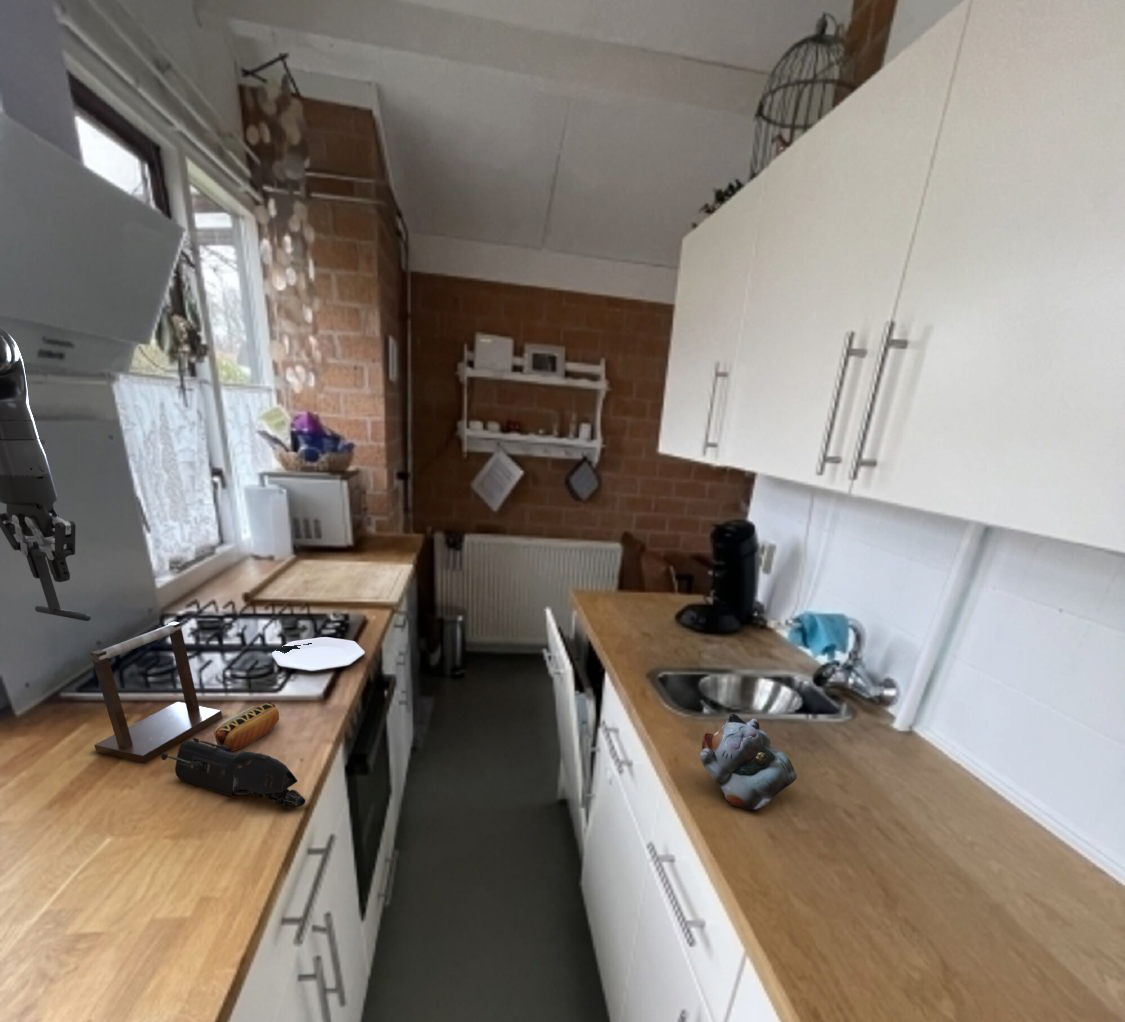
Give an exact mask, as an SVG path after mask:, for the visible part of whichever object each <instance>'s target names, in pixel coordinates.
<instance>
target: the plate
mask: <svg viewBox="0 0 1125 1022" xmlns="http://www.w3.org/2000/svg"><path fill="white" fill-rule="evenodd" d="M308 643H312V644H309V645H303V644H308ZM294 645H301V646H297V647H298V648H300V649H292V650H290V651H289V652H287V653H285V654H284V653H282V652H280V651H276V650H274V651H272V653H271V656H272V658H273V660H274V662H275V663H276V665H277V666H278V667H280V668H281V669H283V668H284V669H288V670H289V669H290V670H296V671H303V672H310V673H316V672H322V670H323V671H328V670H327V669H329V670H333V669H332V668H335V669H340V668H347V667H350V666H352V664H354V663H355V662H356V661H358V660H359V659H360V658H362V657H363V656H364V655H366V652H365V650H364V649H363V648H362V647H361V646H360V645H359V644H358V643H357V642H356V641H354V640H350V639H342V638H335V637H328V636H323V637H322V636H320V637H314V638H307V639H299V640H293V641H290V642H288V643H286V644H284V645H283V646H294Z"/></svg>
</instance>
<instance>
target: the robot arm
mask: <svg viewBox="0 0 1125 1022" xmlns="http://www.w3.org/2000/svg"><path fill="white" fill-rule="evenodd" d="M28 394H29V393H28V386H27V377H26V372H25V366H24V360H23V358H22V355H21V352H20V349H19V346H18V345H17V343H16V341H15V339H14V338H13V337H12V335H10V334H9V332H8V331H6V330H5V329H4V328H2V327H1V326H0V503H1V504H5V505H6V507H5V508H6V509H5V511H4V512H0V529H1V532H2V533H3V535H4V537H5V538H6V539H7V541H8V543H9V545H10V547H11V548H12V550H14V551H19V552H21V554H22V555H23V556H24V557H25V558H26V560H27V563H28V566H29V570H30V572H31V574H32V577H33V578H35V579H39V575H38V572H37V570H36V567H35V564H34V561H33V558H32V554H31V551H30V550H33V549H38V548H41V549H44V550H45V552H46V555H47V557H48V558H49V559H50V560H48V561H47V563H48V562H49V565H50V568H51V571H50V573H51V572H52V574H51V576H52V578H53V581H54V582H56V583H64V582H68V581H70V579H71V573H70V571H69V566H68V563H67V559H66V558H67V557H70V556H75V555H76V526H77V525H76V523H75V522H74V521H73V520H65V519H63V518H61V517H60V515H59V513H58V512H57V510H56V509H55V506H54V503H55V502H57V501H58V499H59V497H58V494H57V490H56V487H55V483H54V480H53V479H54V478H53V475H52V472H51V469H50V466H49V462H48V458H47V455H46V453H45V450H44V448H43V445H42V443H41V441H40V440H41V439H39V438H40V437H39V434H38V430H37V427H36V423H35V419H34V416H33V414H32V411H31V408H30V404H29V395H28ZM51 537H52V538H51ZM46 538H50V539H46ZM52 545H54V549H53V547H52ZM53 550H54V551H53ZM49 565H48V566H49ZM50 568H49V569H50Z"/></svg>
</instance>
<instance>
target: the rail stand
mask: <svg viewBox="0 0 1125 1022" xmlns="http://www.w3.org/2000/svg"><path fill="white" fill-rule="evenodd" d="M167 636H169V638H170V639H169V640H170V643H171V648H172V652H173V656H174V660H175V664H176V669H177V673H178V678H179V681H180V686H181V687H180V688H181V692H182V696H183V699H184V702H181V701H176V702H174V703H172V704H171V705H168V706H167V707H164V708H162V709H160V710H159V711H157V712H155V713H153V714H151V715H149V716H147V717H145V718H143V719H141V720H139V721H138V722H135V723H133V724H132V725H128V723H127V719H126V716H125V712H124V708H123V706H122V701H121V698H120V696H119V691H118V687H117V684H116V681H115V677H114V673H113V670H112V666H111V664H110V660H109V659H111V658H114V657H117V656H119V655H122V654H124V653H126V652H129V651H132V650H134V649H137V648H140V647H142V646H144V645H148V644H149V643H152V642H155V641H158V640H160V639H163V638H164V637H167ZM187 651H188V650H187V647H186V643H185V637H184V634H183V630H182V625H181V622H177V621H172V622H169V623H167V624H166V625H164V626H161V627H159V628H156V629H153V630H151V631H148V632H146V633H143V634H141V635H138V636H135V637H132V638H130V639H127V640H125V641H122V642H120V643H116V644H113V645H110V646H109V647H105V648H103V649H97V650H94V651H91V652H90V653H89V654H90V658H91V661H92V663H93V667H94V670H95V674H96V678H97V681H98V684H99V687H100V689H101V694H102V698H103V701H104V704H105V707H106V711H107V713H108V717H109V720H110V724H111V728H112V731H113V735H111V736H109V737H106V738H105V739H103V740H101V741H99V742H97V743H95V744H94V745H93V746H94V749H95V752H96V753H99V754H102V755H107V756H111V757H116V758H120V759H124V760H129V761H133V762H138V763H141V764H142V763H143V764H146V763H148V762H149V761H151V760H153V759H154V758H156V757H158V756H160V755H162V753H165V752H166V751H169V750H170V749H172V748H173V747H175V746H176V745H178V744H181V743H183V742H184V741H186V739H189V738H191V737H192V736H193V735H195V734H197V733H199V732H200V731H202V730H203V729H205V728H207V727H209V726H210V725H212V724H214V723H216V722H217V721H218V720H221V719H222V718H223V713H222V710H221V709H215V708H211V707H205V706H200V705H199V701H198V695H197V691H196V687H195V683H194V678H193V674H192V669H191V665H190V661H189V656H188V652H187Z"/></svg>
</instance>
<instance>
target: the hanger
mask: <svg viewBox="0 0 1125 1022" xmlns="http://www.w3.org/2000/svg"><path fill="white" fill-rule="evenodd" d="M30 551H31V554H32V558H33V561H34V564H35V567H36V570H37V572H38V575H39V578H38V579H39V581H40V585H41V588H42V591H43V594H44V598H45V601H46V604H47V606H46V605H40V604H38V605H35V606H34V610H35V611H36V612H37V613H40V614H45V615H53V616H56V617H62V618H68V619H73V620H79V621H84V622H89V621H91V619H92V616H91V615H90V614H89V613H83V612H79V611H73V610H67V609H61V606H60V605H61V604H60V602H59V599H58V596H57V595H58V594H57V592H56V589H55V585H54V583H53V579H52V572H51V568H50V565H49V562H48V560H50V559H49V558H48V557H47V555H46V552H45V550H44V548H42V549H41V548H38V549H33V550H30ZM53 551H55V549H53Z"/></svg>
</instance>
